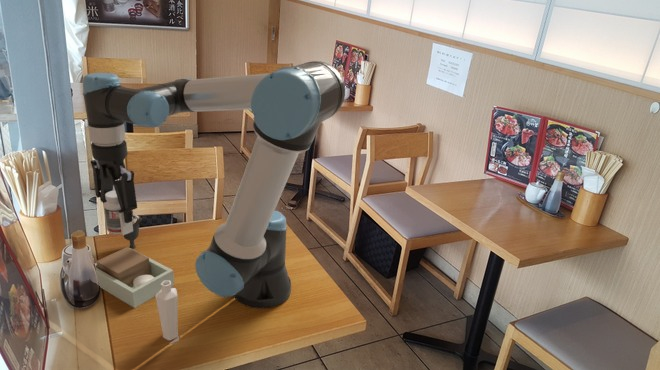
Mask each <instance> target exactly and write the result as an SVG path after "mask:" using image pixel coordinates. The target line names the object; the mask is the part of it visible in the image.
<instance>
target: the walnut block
mask: <svg viewBox="0 0 660 370" xmlns="http://www.w3.org/2000/svg"><path fill="white" fill-rule="evenodd" d="M134 250H135V249H133V250H132V249H130V248H129V247H128V246H126V247H124V248H121V249H119V250H118V251H115V252H113V253H111V254H109V255H107V256H104V257H102V258H100V259H97V260H96V262H95V263H97V268H98V269H100V270H101V271H103V272H105V273H107V274H108V275H110V276H112V277H113V278H115V279H117V280H119V281H120V282H122V283H124V284H126V285H127V286H129V287H131V288H132V287H134V284H133V281H134V279H135V278H137V277H138V276H141V275H151V274H150V264H149V258H150V257H148V256H146V255H144V254H143V253H141V254H140V252H139V253H138V251H137V250H135V251H134ZM136 251H137V252H136ZM142 254H143V255H142Z"/></svg>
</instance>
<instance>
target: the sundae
mask: <svg viewBox="0 0 660 370" xmlns="http://www.w3.org/2000/svg"><path fill="white" fill-rule="evenodd" d="M131 212H132V224H133V232H130V233H128V234H125V235H123V238H124V239H125V240H127V241H129V247H128V248H131V249H133V250H135V249H136V248H137V245H136V244H135V240H136V239H137V238H138V237H139V235H140V224H141V222H142V220H143V219H142V217H141V216H140V215H139V214H136V212H135V211H134V210H132V211H131Z"/></svg>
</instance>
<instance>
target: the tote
mask: <svg viewBox="0 0 660 370" xmlns="http://www.w3.org/2000/svg"><path fill="white" fill-rule="evenodd" d="M130 249H131V248H130ZM132 250H134V251H136V252H138V251H137V250H135V249H132ZM138 253H140V252H138ZM140 254H142V255H144V254H143V253H140ZM148 258H149V264H150V274H151V276H153V277H154V278H153V279H151V280H150V281H148V282H146V283H144V284H142V285H140V286H139V287H137V288H135V289H134V287H132V288H131V287H129V286H127V285H126V284H124V283H122V282H120V281H119V280H117V279H115V278H113V277H112V276H110V275H108V274H107V273H105V272H103V271H101V270H100V269H98V268H97V263H96V262H95V263H94V264H95V268H96V274H97V278H98V282H99V286H100V287H99V286H98V287H99V288H101V289H103V290H104V291H106V292H107V293H109V294H110V295H112V296H114V297H115V298H117V299H118V300H120V301H122V302H124V303H125V304H128V306H130V307H131V308H134V309H136V308H138V307H139V306H141V305H142V304H145V303H146V302H148V301H150V300H151V299H153V298H154V297H155V296H156V295H157V293H158V292H159V291H160V290H161V289H162V286H161V283H162V282H163V281H171V288H173V286H174V285H175V275H174V270H173V269H171V268H170V267H168V266H166V265H163V263H160V262H158V261H156V260H154V259H152V258H151V257H148ZM155 298H156V297H155Z"/></svg>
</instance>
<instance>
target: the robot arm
mask: <svg viewBox="0 0 660 370" xmlns="http://www.w3.org/2000/svg"><path fill="white" fill-rule="evenodd" d="M82 91H83V93H82V95H83V98H84V100H83V101H84V105H85V113H86V119H87V128H88V133H89V141H90V142H91V144H90V147H91V156H92V159H93V160H90V165H91V168H92V174H93V175H92V176H93V183H94V191H95V197H96V198H100V199H99V200H100V202H101V203H102V207H103V212H104V221H105V226H106V227H107V223H106V216H105V208H104V205H105V203H106V202H107V200H106V198H105V194H106V193H107V192H109V191H113V190H115V191H116V194H117V198H118V201H119V204H120V208H121V210H119V216H120V224H121V232H122V234H121V235H125V234H128V233H130V232H133V224H132V212H131V211H134V210H137V209H138V202H137V194H136V188H135V181H134V178H135V172H134V171H133V170H127V167H126V165H125V162H124V160H125V159H126V158H127V157H128V146H127V141H126V131H125V130H126V129H125V128H126V127H125V123H129V124H132V125H137V126H139V127H143V128H158V127H160V126H162V125H163V124H164V122H166V121H167V120H168V117H171V116H173V115H178V114H181V113H195V112H215V111H216V112H218V111H219V112H221V111H223V112H224V111H240V110H241V111H243V110H244V111H245V110H246V111H247V110H251V111H250V112H251V113H252V114H253V123H252V129H253V131H254V133H255V135H256V136H257V137H256V139H255V141H254V145H253V147H252V150H251V153H250V155H249V158H248V160H247V163H246V166H245V170H244V173H243V175H242V177H241V179H240V183H239V186H238V189H237V192H236V195H235V197H234V199H233V203H232V204H231V207H230V210H229V212H228V216H227V219H226V220H225V222H223V223H221V224H219V225H218V226H217V227H216V229H215V231H214V234H213V236H212V239H211V241H210V245H209V246H208V248H207V249H206V250H204V251H202V252H200V254H199V255H198V256H197V257H196V259H195V263H194V264H195V266H194V267H195V272H196V275H197V277H198V278H199V280H200V282H201V283H202V286H204V287H205V288H206V289H207V290H208V291H210V292H211V293H212V294H214V295H216V296H219V297H224V298H225V297H226V298H228V297H229V298H231V297H233V296H235V297H234V298H235V300H236V301H237V302H238V303H240V304H241V305H243V306H246V307H249V308H252V309H254V308H255V309H268V308H274V307H277V306H280V305H281V304H283V303H285V302H286V301H287V300H288V299H289V298H290V295H291V293H292V282H291V278H290V277H289V274H288V269H287V266H286V251H287V250H286V248H287V246H286V245H287V229H288V228H287V218H286V216H285V215H284V214H283V213H282V212H280V211H278V210H276V208H277V205H278V203H279V200H280V198H281V197H282V194H283V191H284V189H285V187H286V185H287V182H288V180H289V177H290V175H291V173H292V170H293V168H294V166H295V163H296V161H297V159H298V157H299V154H301V153H303V152H306V151H308V150H310V148H311V146H312V144H313V141H314V139H315V137H316V135H317V132H318V130H319V127H321V124H322V123H323V122H325V121H327V120H328V119H330V118H331V117H333V116H334V115H336V114H337V113H338V112H339V110H340V109H341V108H342V107H343V104H344V100H345V98H346V97H345V96H346V84H345V82H344V78H343V76H342V75H341V73H340V72H339V71H338V69H336V68H335V67H334V66H333V65H331V64H329V63H327V62H323V61H322V60H321V61H319V60H317V61H315V60H314V61H313V60H312V61H309V62H305V63H301V64H298V65H297V64H296V65H294V66H285V67H281V68H278V69H276V70H274V71H272V72H271V73H270V72H269V73H259V74H246V75H244V74H243V75H232V76H230V75H229V76H221V77H220V76H219V77H208V78H195V79H192V78H180V79H176V80H174V81H169V82H163V83H160V84H155V85H154V84H153V85H149V86H145V87H139V88H131V87H125V86H121V81H120V78H119V76H118V75H117V74H116V73H111V72H93V73H92V72H91V73H88V74H86V75H84V76H83V78H82Z"/></svg>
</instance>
